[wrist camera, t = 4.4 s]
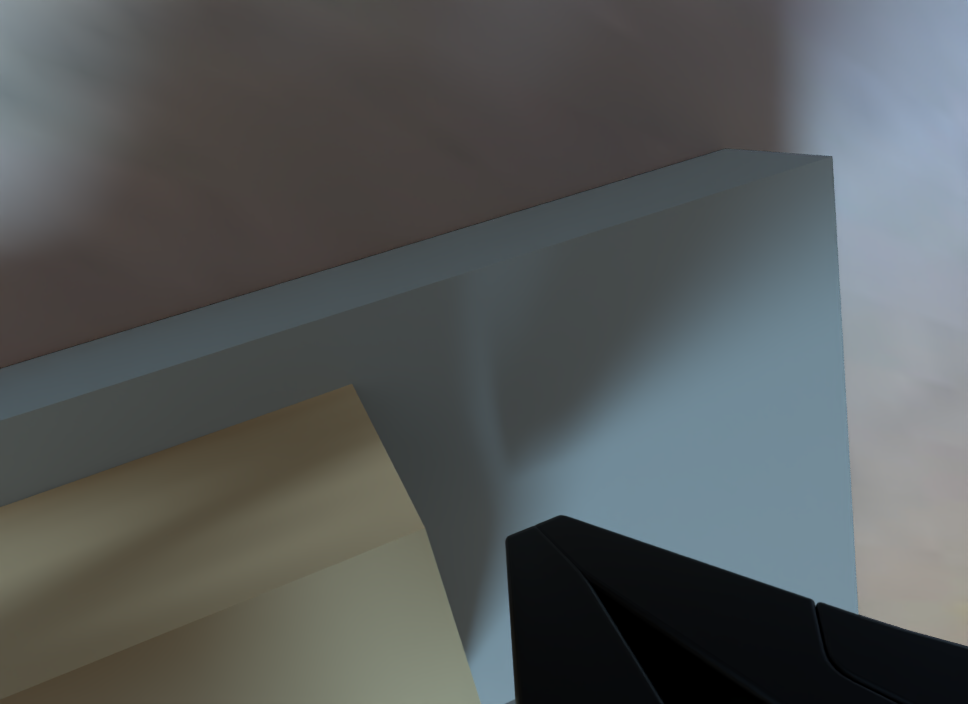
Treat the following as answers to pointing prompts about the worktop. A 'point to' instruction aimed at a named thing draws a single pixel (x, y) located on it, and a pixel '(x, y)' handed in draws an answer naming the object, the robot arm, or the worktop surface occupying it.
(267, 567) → the block
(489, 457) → the board
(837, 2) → the worktop surface
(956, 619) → the worktop surface
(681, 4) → the worktop surface
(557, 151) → the worktop surface
